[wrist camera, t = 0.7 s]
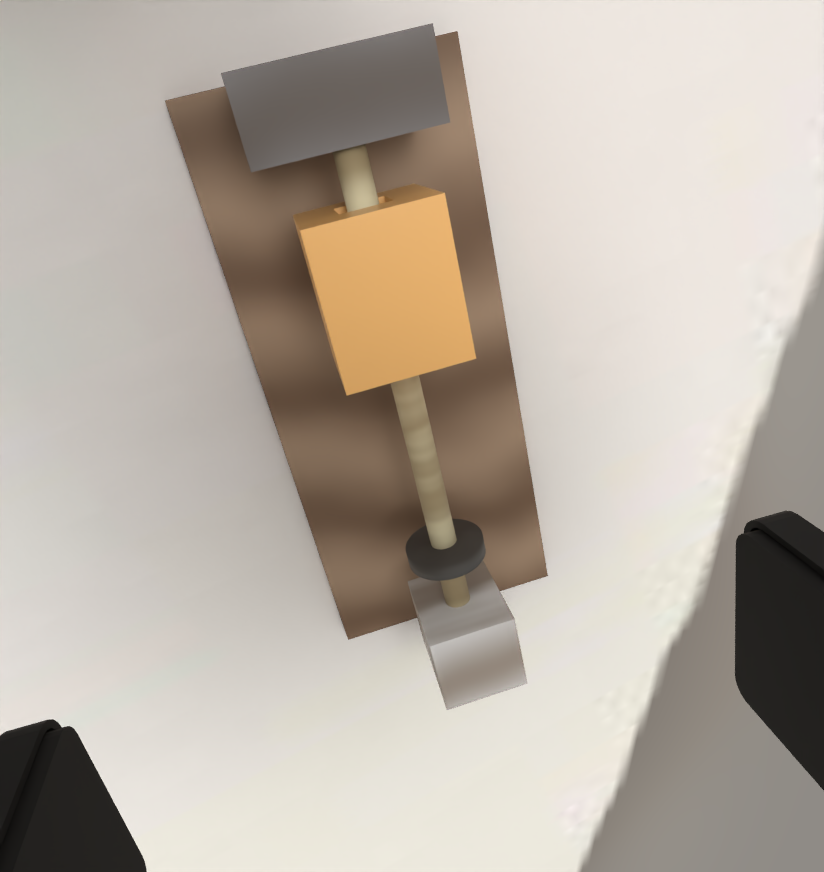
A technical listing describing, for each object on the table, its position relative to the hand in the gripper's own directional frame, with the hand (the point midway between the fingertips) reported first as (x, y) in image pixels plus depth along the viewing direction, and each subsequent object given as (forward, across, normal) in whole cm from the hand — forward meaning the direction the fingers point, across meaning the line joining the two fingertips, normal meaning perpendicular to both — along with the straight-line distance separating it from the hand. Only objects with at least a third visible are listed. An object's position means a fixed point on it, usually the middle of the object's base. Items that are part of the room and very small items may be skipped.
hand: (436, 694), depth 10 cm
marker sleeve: (+22, -3, -2) cm, 22 cm away
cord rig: (+25, -3, +4) cm, 26 cm away
